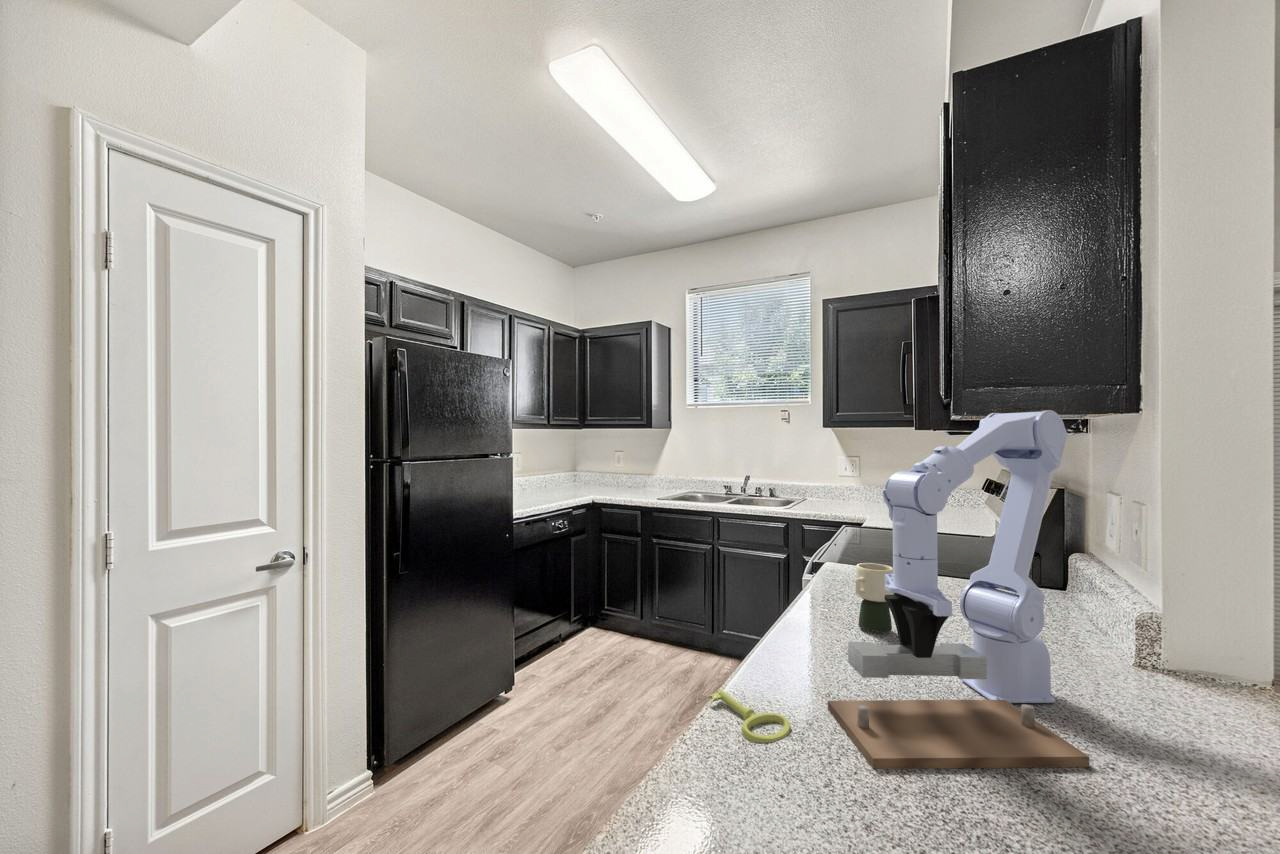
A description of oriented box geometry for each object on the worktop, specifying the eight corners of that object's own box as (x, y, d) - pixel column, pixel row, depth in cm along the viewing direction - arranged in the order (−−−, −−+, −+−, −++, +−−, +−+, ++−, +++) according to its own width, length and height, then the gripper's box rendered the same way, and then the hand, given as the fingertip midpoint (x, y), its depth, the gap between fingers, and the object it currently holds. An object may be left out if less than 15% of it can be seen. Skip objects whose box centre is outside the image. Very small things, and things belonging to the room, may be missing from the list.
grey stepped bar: (964, 664, 78) (964, 643, 78) (986, 679, 73) (986, 657, 73) (848, 662, 78) (848, 641, 78) (862, 677, 73) (862, 655, 73)
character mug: (878, 621, 115) (877, 560, 115) (908, 631, 108) (907, 567, 109) (842, 629, 110) (841, 565, 110) (871, 640, 103) (871, 573, 104)
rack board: (1005, 708, 77) (1004, 682, 77) (1089, 766, 63) (1088, 736, 63) (828, 709, 76) (827, 683, 76) (873, 768, 62) (872, 737, 62)
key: (717, 700, 80) (717, 686, 80) (796, 729, 72) (796, 714, 72) (690, 720, 74) (691, 704, 74) (773, 753, 66) (773, 736, 66)
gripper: (865, 545, 83) (865, 633, 83) (913, 567, 69) (914, 673, 68) (909, 546, 83) (910, 633, 83) (967, 567, 69) (968, 673, 69)
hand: (915, 651), depth 76 cm, fingers closed on grey stepped bar, 3 cm apart
